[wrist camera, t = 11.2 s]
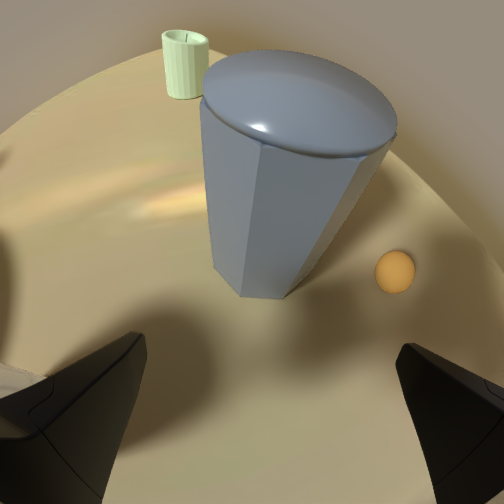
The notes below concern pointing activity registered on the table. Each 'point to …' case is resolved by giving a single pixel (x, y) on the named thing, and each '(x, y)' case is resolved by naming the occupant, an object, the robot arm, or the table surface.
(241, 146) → the grey faceted canister
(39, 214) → the table surface
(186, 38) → the candle
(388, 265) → the amber ball
